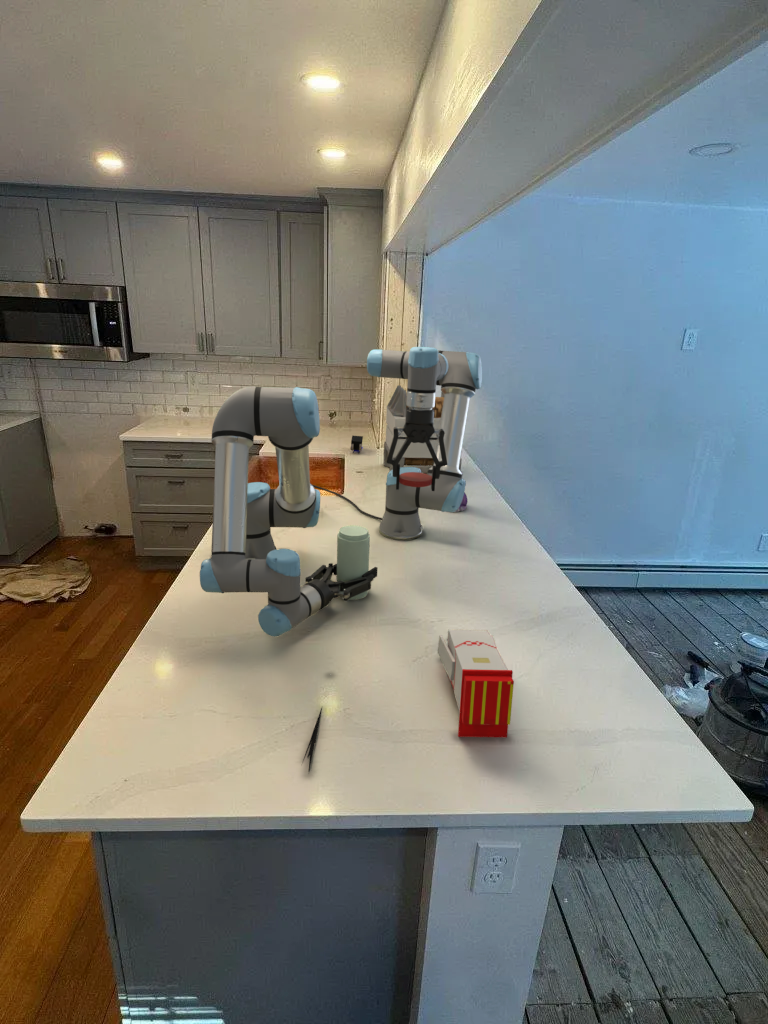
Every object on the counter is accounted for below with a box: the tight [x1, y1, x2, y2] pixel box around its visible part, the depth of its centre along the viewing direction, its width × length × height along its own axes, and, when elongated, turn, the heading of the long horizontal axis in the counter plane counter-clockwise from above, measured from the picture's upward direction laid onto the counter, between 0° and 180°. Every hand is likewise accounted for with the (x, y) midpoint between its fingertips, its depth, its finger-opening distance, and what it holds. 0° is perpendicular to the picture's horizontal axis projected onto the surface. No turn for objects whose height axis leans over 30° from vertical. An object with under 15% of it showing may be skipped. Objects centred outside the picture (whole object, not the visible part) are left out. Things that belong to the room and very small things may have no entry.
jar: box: [336, 524, 371, 601], centre depth 155 cm, size 9×9×18 cm
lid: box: [399, 472, 432, 487], centre depth 157 cm, size 9×9×2 cm
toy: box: [437, 628, 515, 738], centre depth 117 cm, size 12×13×30 cm
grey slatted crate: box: [383, 384, 463, 472], centre depth 268 cm, size 34×33×41 cm
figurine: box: [454, 471, 468, 513], centre depth 225 cm, size 9×10×15 cm
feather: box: [301, 673, 332, 771], centre depth 108 cm, size 2×28×2 cm
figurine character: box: [350, 435, 364, 454], centre depth 309 cm, size 7×8×15 cm
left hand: (362, 567), depth 159 cm, fingers closed on jar, 9 cm apart
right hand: (415, 488), depth 158 cm, fingers closed on lid, 9 cm apart
